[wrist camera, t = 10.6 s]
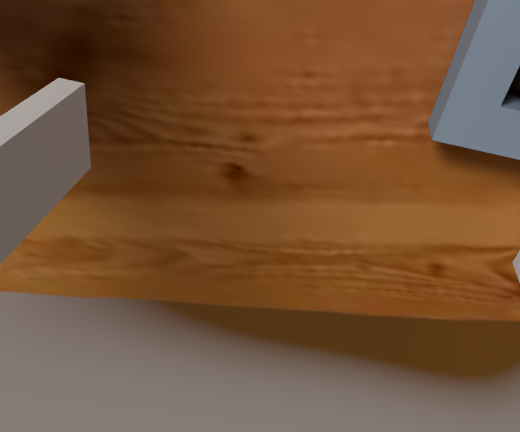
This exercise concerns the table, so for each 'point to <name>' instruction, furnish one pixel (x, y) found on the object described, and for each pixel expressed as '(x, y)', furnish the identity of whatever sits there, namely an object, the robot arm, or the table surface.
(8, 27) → the table surface
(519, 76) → the peg
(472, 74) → the socket block
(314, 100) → the table surface
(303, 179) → the table surface
